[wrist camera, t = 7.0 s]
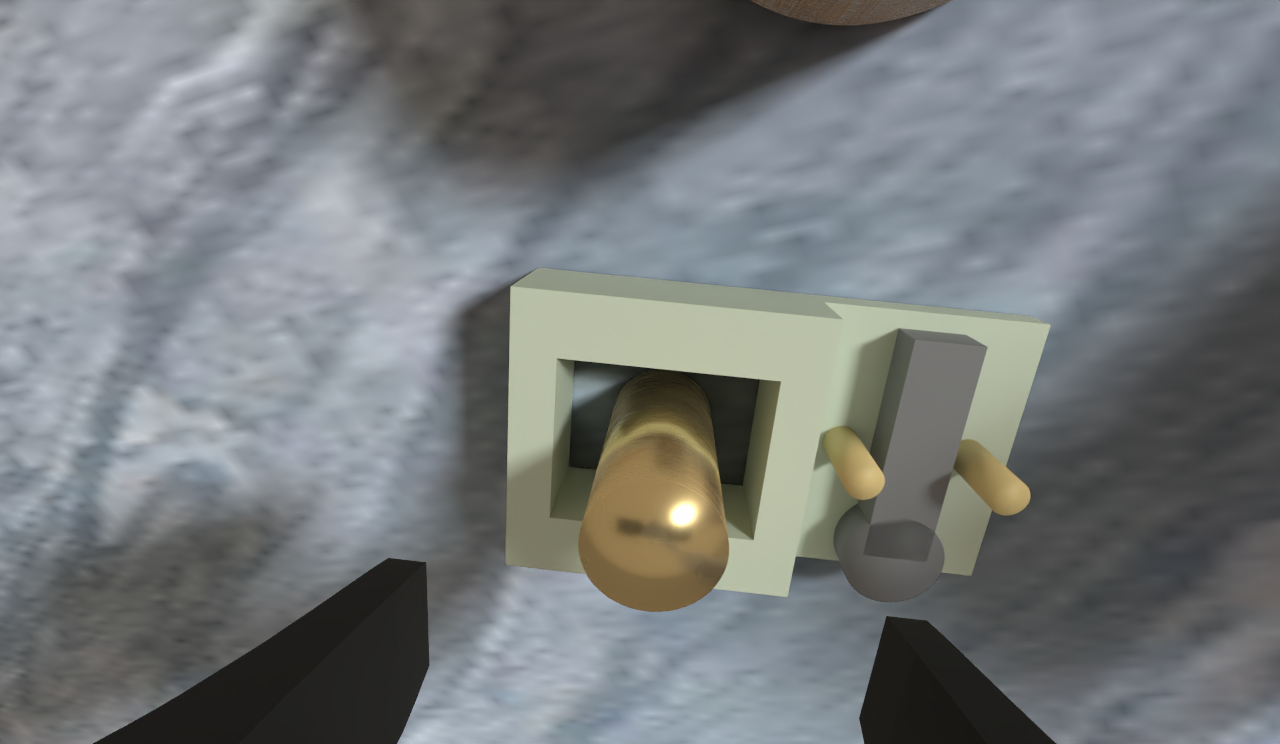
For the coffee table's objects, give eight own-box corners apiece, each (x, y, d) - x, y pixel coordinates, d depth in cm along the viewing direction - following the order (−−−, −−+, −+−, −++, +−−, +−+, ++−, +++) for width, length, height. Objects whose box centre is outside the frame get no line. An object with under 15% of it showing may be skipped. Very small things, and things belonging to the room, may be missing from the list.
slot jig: (1030, 316, 17) (1113, 349, 14) (953, 566, 20) (1007, 644, 16) (538, 267, 17) (506, 289, 14) (530, 518, 20) (501, 585, 17)
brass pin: (714, 371, 18) (735, 486, 11) (707, 461, 19) (722, 616, 12) (614, 366, 18) (578, 477, 11) (612, 455, 19) (577, 606, 12)
